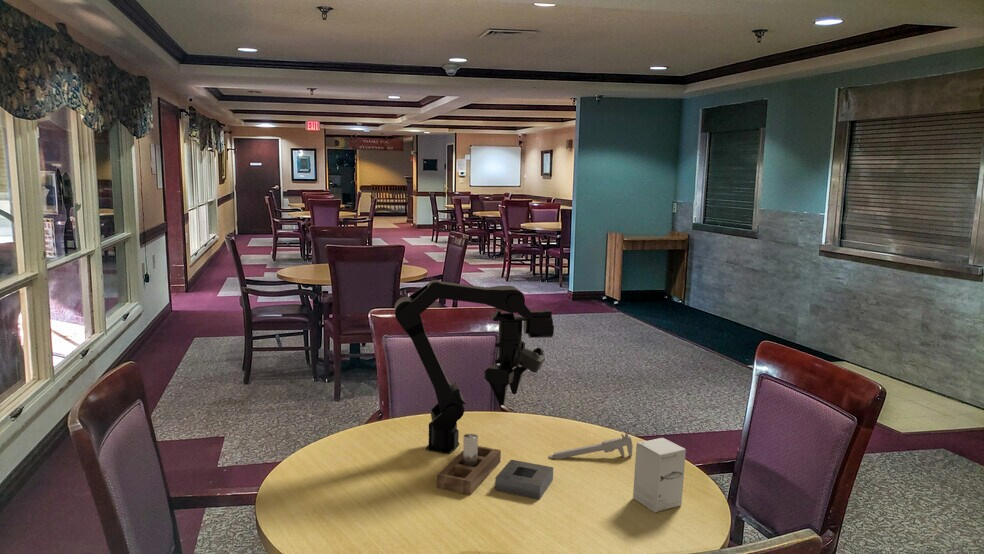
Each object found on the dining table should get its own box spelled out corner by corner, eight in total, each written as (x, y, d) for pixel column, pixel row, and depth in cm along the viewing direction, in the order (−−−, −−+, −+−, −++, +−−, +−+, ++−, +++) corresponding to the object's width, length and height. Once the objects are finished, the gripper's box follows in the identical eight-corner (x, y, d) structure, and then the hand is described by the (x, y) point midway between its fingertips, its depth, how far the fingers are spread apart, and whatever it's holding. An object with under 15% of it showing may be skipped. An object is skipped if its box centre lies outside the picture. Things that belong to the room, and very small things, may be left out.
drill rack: (436, 487, 147) (436, 474, 147) (469, 456, 164) (469, 444, 164) (470, 494, 145) (471, 481, 144) (500, 462, 161) (500, 450, 161)
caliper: (630, 456, 167) (632, 432, 166) (631, 458, 166) (633, 433, 165) (548, 458, 165) (549, 433, 164) (549, 460, 164) (550, 435, 163)
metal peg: (460, 475, 154) (461, 437, 152) (466, 470, 156) (467, 432, 155) (473, 478, 152) (474, 440, 151) (479, 472, 155) (480, 435, 154)
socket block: (495, 490, 147) (495, 477, 146) (510, 471, 156) (511, 459, 156) (539, 499, 143) (540, 486, 143) (552, 479, 153) (553, 467, 152)
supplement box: (655, 513, 139) (659, 454, 137) (631, 498, 145) (635, 441, 143) (682, 506, 142) (687, 448, 140) (658, 491, 149) (662, 436, 147)
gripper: (529, 350, 155) (527, 416, 158) (552, 333, 173) (550, 392, 175) (484, 345, 159) (482, 409, 162) (511, 328, 177) (509, 386, 179)
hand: (508, 399), depth 169 cm, fingers open, 9 cm apart
